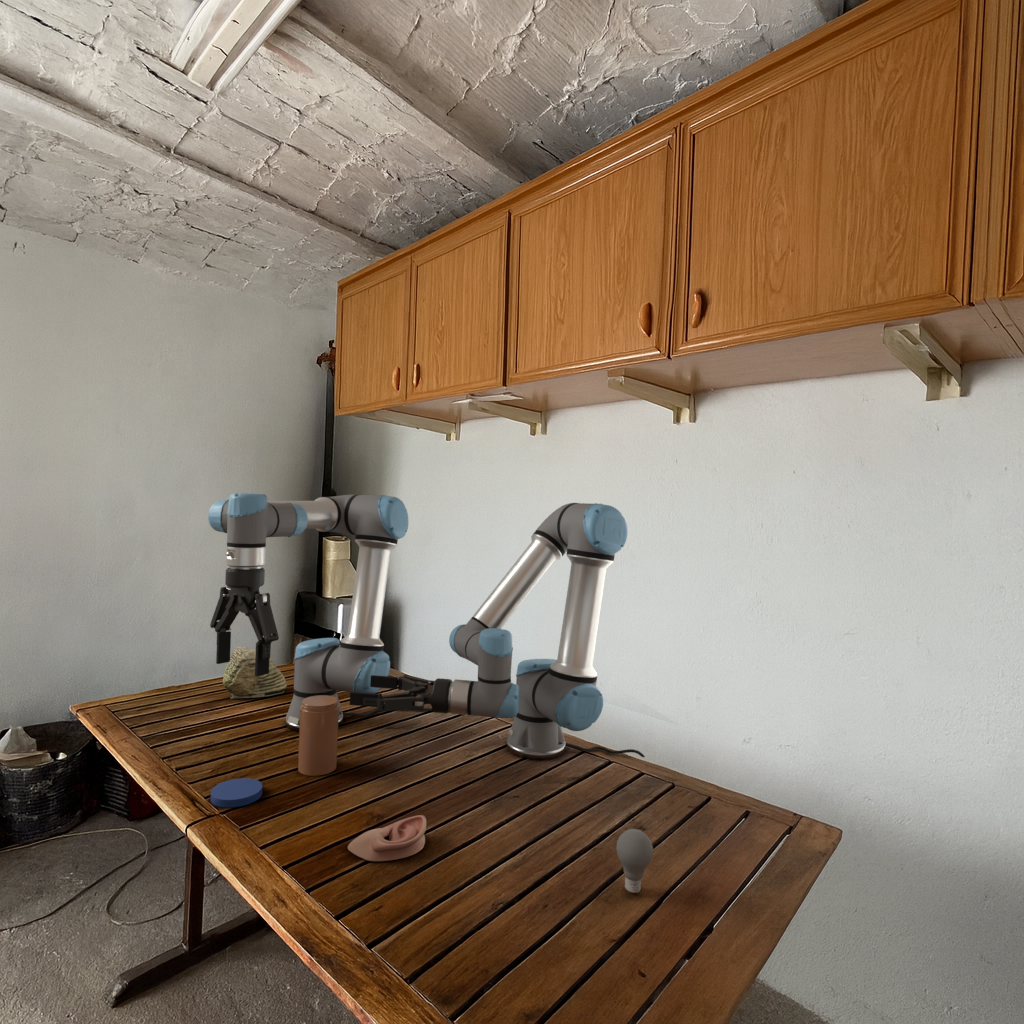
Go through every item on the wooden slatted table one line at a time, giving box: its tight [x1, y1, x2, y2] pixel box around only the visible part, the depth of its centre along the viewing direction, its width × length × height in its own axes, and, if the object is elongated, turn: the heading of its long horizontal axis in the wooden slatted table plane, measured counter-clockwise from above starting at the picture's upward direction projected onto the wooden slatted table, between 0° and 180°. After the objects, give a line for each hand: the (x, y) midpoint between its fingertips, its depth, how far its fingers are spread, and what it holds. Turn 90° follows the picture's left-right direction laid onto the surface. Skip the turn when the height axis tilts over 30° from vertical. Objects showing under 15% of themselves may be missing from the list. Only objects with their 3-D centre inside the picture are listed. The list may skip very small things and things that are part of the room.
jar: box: [297, 695, 339, 777], centre depth 148 cm, size 9×9×16 cm
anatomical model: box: [347, 814, 427, 862], centre depth 116 cm, size 13×4×12 cm
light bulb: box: [615, 828, 654, 894], centre depth 106 cm, size 6×6×10 cm
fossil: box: [222, 646, 288, 699], centre depth 198 cm, size 9×18×15 cm, turn 132°
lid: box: [210, 777, 263, 809], centre depth 132 cm, size 10×10×2 cm
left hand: (241, 668), depth 132 cm, fingers open, 13 cm apart
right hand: (360, 689), depth 146 cm, fingers open, 13 cm apart
